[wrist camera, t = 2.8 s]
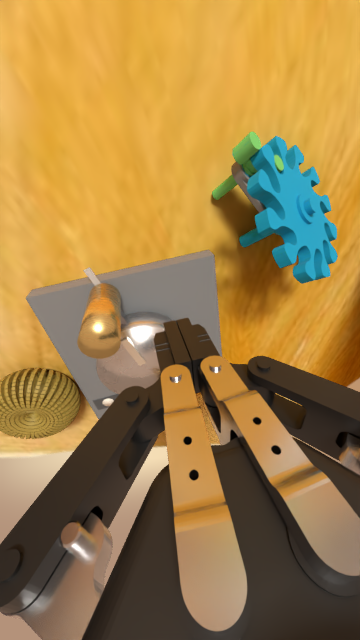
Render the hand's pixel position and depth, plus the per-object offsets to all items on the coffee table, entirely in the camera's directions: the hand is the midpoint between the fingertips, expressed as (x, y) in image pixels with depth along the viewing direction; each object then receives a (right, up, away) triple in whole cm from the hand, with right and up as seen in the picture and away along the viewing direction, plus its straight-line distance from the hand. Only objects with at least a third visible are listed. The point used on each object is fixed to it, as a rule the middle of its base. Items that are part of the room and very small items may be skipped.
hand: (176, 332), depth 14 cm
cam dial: (-3, -2, +9) cm, 10 cm away
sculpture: (-14, -6, +11) cm, 19 cm away
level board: (-3, -1, +10) cm, 11 cm away
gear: (+7, +11, +6) cm, 14 cm away
